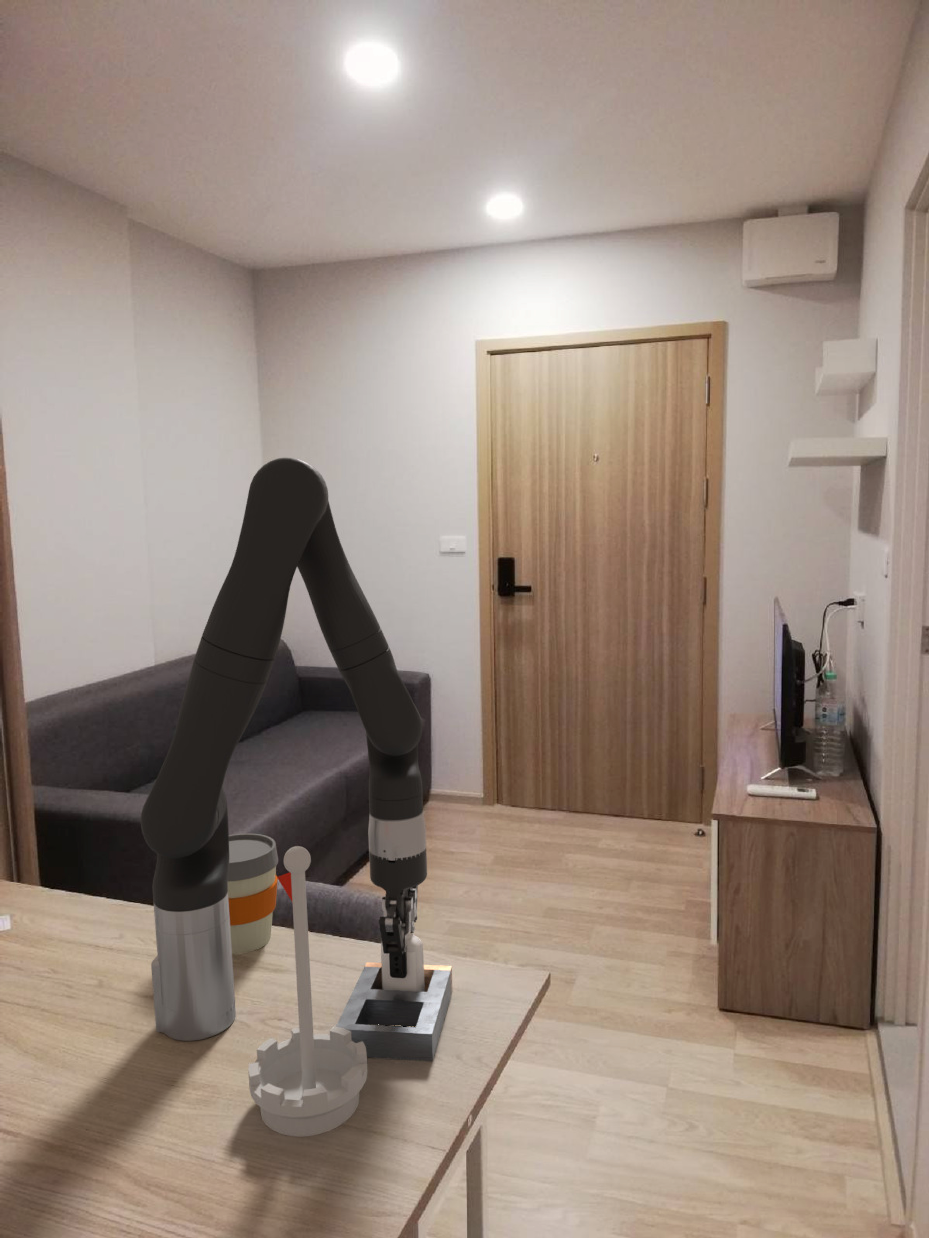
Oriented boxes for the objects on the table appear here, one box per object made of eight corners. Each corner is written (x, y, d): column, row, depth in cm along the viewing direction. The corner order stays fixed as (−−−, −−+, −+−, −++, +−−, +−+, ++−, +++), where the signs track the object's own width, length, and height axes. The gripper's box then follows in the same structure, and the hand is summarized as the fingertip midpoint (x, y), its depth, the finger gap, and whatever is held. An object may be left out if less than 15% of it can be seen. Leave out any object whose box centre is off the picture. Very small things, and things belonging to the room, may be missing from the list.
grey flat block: (336, 1055, 109) (334, 1028, 108) (367, 985, 125) (366, 962, 124) (432, 1061, 107) (431, 1033, 107) (452, 989, 123) (451, 965, 122)
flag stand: (391, 1106, 99) (380, 848, 96) (285, 1161, 91) (269, 882, 88) (331, 1052, 110) (319, 817, 106) (231, 1098, 101) (215, 845, 98)
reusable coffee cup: (185, 940, 139) (179, 848, 137) (256, 913, 148) (251, 826, 146) (224, 969, 130) (217, 871, 128) (297, 939, 139) (293, 846, 137)
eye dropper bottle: (402, 1008, 116) (398, 921, 115) (378, 991, 120) (375, 906, 119) (429, 996, 119) (426, 910, 117) (405, 979, 123) (402, 897, 122)
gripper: (381, 825, 124) (386, 941, 127) (356, 865, 111) (361, 995, 113) (434, 826, 123) (438, 943, 126) (415, 867, 110) (419, 998, 112)
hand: (402, 967), depth 119 cm, fingers closed on eye dropper bottle, 3 cm apart
